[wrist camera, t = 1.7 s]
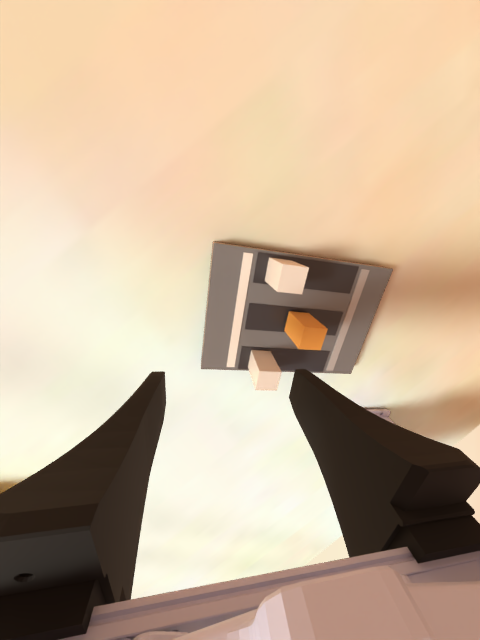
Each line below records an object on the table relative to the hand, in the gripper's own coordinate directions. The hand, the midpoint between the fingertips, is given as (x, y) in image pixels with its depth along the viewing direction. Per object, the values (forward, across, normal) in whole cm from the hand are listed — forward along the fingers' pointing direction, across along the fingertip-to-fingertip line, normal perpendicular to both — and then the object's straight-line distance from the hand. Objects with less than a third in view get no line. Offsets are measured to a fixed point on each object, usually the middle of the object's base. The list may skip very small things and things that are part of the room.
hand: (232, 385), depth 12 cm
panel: (+10, -7, 0) cm, 13 cm away
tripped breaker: (+9, -7, 0) cm, 11 cm away
